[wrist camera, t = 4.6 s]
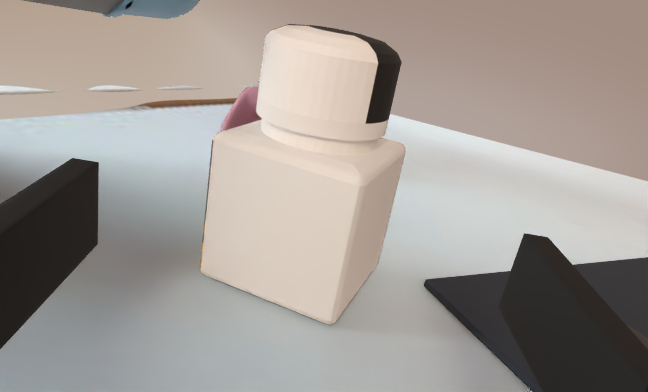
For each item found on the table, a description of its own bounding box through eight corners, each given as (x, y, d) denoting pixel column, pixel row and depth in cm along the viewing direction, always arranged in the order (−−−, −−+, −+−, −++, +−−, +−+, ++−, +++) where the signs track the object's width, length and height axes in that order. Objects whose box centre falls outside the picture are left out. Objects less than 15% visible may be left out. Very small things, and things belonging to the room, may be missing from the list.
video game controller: (332, 178, 45) (353, 103, 46) (324, 169, 40) (347, 86, 41) (229, 152, 47) (251, 80, 47) (211, 140, 42) (235, 61, 43)
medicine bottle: (267, 225, 31) (298, 17, 26) (379, 265, 28) (433, 45, 24) (196, 275, 24) (221, 12, 20) (332, 330, 22) (393, 50, 18)
